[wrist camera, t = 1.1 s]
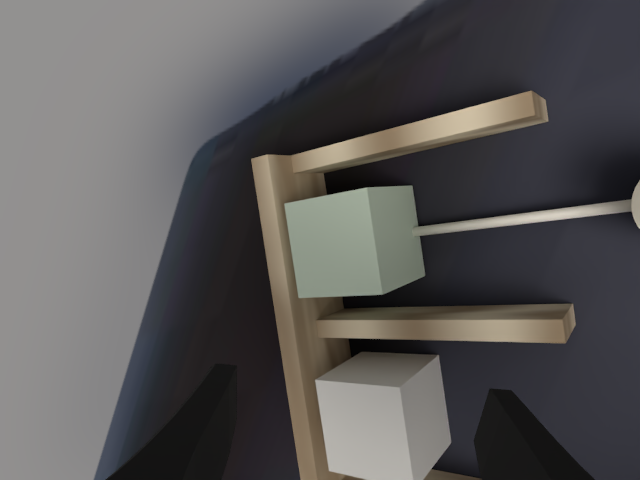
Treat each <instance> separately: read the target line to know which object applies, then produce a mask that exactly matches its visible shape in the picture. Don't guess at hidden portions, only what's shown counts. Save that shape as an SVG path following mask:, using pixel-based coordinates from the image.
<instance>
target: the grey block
mask: <svg viewBox="0 0 640 480" xmlns="http://www.w3.org/2000/svg"><path fill="white" fill-rule="evenodd" d="M315 383H316V389H317V396H318V402H319V409H320V415H321V422H322V428H323V435H324V442H325V448H326V455H327V461H328V468H329V471H331V472H335V473H340V474H344V475H349V476H353V477H357V478H362V479H366V480H423V479H424V478H425V477H426V475H427V474H428V473H429V471H430V470H431V469H432V467H433V466H434V465H435V463H436V462H437V461H438V460H439V458H440V457H441V456H442V454H443V453H444V452H445V450H446V449H447V448H448V446H449V445H450V444H451V437H450V430H449V423H448V416H447V409H446V402H445V395H444V388H443V381H442V374H441V367H440V361H439V355H427V354H403V353H380V352H360V353H359V354H357V355H355V356H354V357H352V358H350V359H349V360H347V361H345V362H344V363H342V364H341V365H339V366H337V367H336V368H334V369H332V370H331V371H329V372H327V373H326V374H324V375H322V376H321V377H319V378H317V379H316V380H315Z"/></svg>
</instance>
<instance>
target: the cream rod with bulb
mask: <svg viewBox="0 0 640 480" xmlns="http://www.w3.org/2000/svg"><path fill="white" fill-rule="evenodd" d="M284 206H285V212H286V219H287V225H288V232H289V238H290V245H291V252H292V258H293V265H294V271H295V278H296V284H297V291H298V297H299V298H312V297H338V296H364V295H383V294H385V293H388V292H390V291H392V290H395V289H397V288H399V287H401V286H404V285H406V284H408V283H410V282H413V281H415V280H417V279H420V278H422V277H424V276H425V270H424V263H423V256H422V249H421V242H420V236H424V235H432V234H441V233H450V232H458V231H467V230H475V229H484V228H493V227H501V226H510V225H519V224H527V223H536V222H544V221H553V220H562V219H570V218H579V217H588V216H596V215H605V214H613V213H622V212H631V211H632V214H633V218H634V220H635V222H636V224H637V226H638V227H639V229H640V181H639V182H638V184H637V186H636V187H635V190H634V192H633V196H632V199H630V200H622V201H614V202H606V203H599V204H591V205H583V206H575V207H567V208H560V209H552V210H544V211H536V212H529V213H521V214H513V215H505V216H497V217H490V218H482V219H474V220H466V221H459V222H451V223H443V224H435V225H428V226H420V227H418V221H417V214H416V207H415V200H414V193H413V186H412V185H411V186H389V187H367V188H362V189H357V190H351V191H346V192H341V193H336V194H331V195H326V196H321V197H316V198H310V199H305V200H300V201H295V202H290V203H285V204H284Z"/></svg>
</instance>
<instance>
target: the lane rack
mask: <svg viewBox="0 0 640 480" xmlns="http://www.w3.org/2000/svg"><path fill="white" fill-rule="evenodd" d="M545 122H548V114H547V107H546V100H545V99H543V98H542V97H540V96H539V95H537V94H536V93H534V92H533V91H528V92H525V93H521V94H517V95H514V96H510V97H506V98H502V99H499V100H495V101H491V102H488V103H484V104H480V105H477V106H473V107H469V108H465V109H462V110H458V111H454V112H451V113H447V114H443V115H440V116H436V117H432V118H428V119H425V120H421V121H417V122H414V123H410V124H406V125H403V126H399V127H395V128H391V129H388V130H384V131H380V132H377V133H373V134H369V135H366V136H362V137H358V138H354V139H351V140H347V141H343V142H340V143H336V144H332V145H329V146H325V147H321V148H317V149H314V150H310V151H306V152H303V153H299V154H295V155H292V156H287V155H264V156H260V157H257V158H253V159H251V161H252V167H253V174H254V180H255V187H256V193H257V200H258V206H259V213H260V219H261V226H262V232H263V239H264V245H265V252H266V258H267V265H268V271H269V277H270V284H271V290H272V297H273V303H274V310H275V316H276V323H277V329H278V336H279V342H280V349H281V355H282V362H283V368H284V374H285V381H286V387H287V394H288V400H289V407H290V413H291V420H292V426H293V433H294V439H295V446H296V452H297V459H298V465H299V471H300V478H301V480H366V479H362V478H357V477H353V476H349V475H344V474H340V473H335V472H331V471H329V468H328V461H327V455H326V448H325V442H324V435H323V428H322V422H321V415H320V409H319V402H318V396H317V389H316V383H315V380H316V379H317V378H319V377H321V376H322V375H324V374H326V373H327V372H329V371H331V370H332V369H334V368H336V367H337V366H339V365H341V364H342V363H344V362H345V361H347V360H349V359H350V358H351V352H350V345H349V339H348V338H362V339H404V340H447V341H490V342H532V343H566V342H567V340H568V338H569V336H570V334H571V333H572V331H573V329H574V327H575V325H576V323H575V315H574V308H573V304H527V305H479V306H431V307H384V308H344V305H343V299H342V296H338V297H312V298H299V297H298V291H297V284H296V278H295V271H294V265H293V258H292V252H291V245H290V238H289V232H288V225H287V219H286V212H285V206H284V204H285V203H290V202H295V201H300V200H305V199H310V198H316V197H321V196H326V195H327V192H326V185H325V179H324V173H327V172H331V171H336V170H340V169H345V168H349V167H353V166H358V165H362V164H366V163H371V162H375V161H379V160H384V159H388V158H392V157H397V156H401V155H406V154H410V153H414V152H419V151H423V150H427V149H432V148H436V147H440V146H445V145H449V144H453V143H458V142H462V141H466V140H471V139H475V138H480V137H484V136H488V135H493V134H497V133H501V132H506V131H510V130H514V129H519V128H523V127H527V126H532V125H536V124H541V123H545ZM423 480H482V479H480V478H475V477H470V476H465V475H460V474H454V473H449V472H444V471H439V470H434V469H431V470H430V471H429V473H428V474H427V475H426V477H425V478H424V479H423Z"/></svg>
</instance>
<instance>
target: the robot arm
mask: <svg viewBox="0 0 640 480" xmlns="http://www.w3.org/2000/svg"><path fill="white" fill-rule="evenodd" d="M236 419H237V366H235V365H224V364H214V365H213V366H212V367H211V368H210V370H209V371H208V372H207V374H206V375H205V377H204V378H203V379H202V381H201V382H200V383H199V385H198V386H197V387H196V388H195V390H194V391H193V392H192V393H191V395H190V396H189V397H188V398H187V399H186V401H185V402H184V403H183V404H182V405H181V406H180V408H179V409H178V410H177V411H176V412H175V413H174V415H173V416H172V417H171V418H170V419H169V420H168V421H167V422H166V423H165V424H164V425H163V427H162V428H161V429H160V430H159V431H158V432H157V433H156V434H155V435H154V436H153V437H152V438H151V439H150V440H149V441H148V442H147V443H146V444H145V445H144V446H143V447H142V448H141V449H140V450H139V451H138V452H137V453H136V454H135V455H133V456H132V457H131V458H130V459H129V460H128V461H127V462H126V463H125V464H123V465H122V466H121V467H120V468H119V469H118V470H117V471H115V472H114V473H113V474H112V475H111V476H109V477H108V478H107V479H106V480H221V479H222V475H223V472H224V469H225V466H226V463H227V460H228V457H229V453H230V448H231V444H232V439H233V434H234V429H235V424H236ZM474 444H475V449H476V455H477V461H478V465H479V470H480V475H481V479H482V480H595V479H594V478H593V477H592V476H591V475H590V474H589V473H588V472H586V471H585V470H584V469H583V468H582V467H581V466H580V465H579V464H578V463H577V462H576V461H575V459H574V458H573V457H572V456H571V455H570V454H569V453H568V452H567V451H566V450H565V449H564V448H563V447H562V446H561V445H560V444H559V443H558V442H557V441H556V439H555V438H554V437H553V436H552V435H551V434H550V433H549V432H548V431H547V430H546V428H545V427H544V426H543V425H542V424H541V423H540V422H539V421H538V420H537V418H536V417H535V416H534V415H533V414H532V413H531V412H530V410H529V409H528V408H527V407H526V406H525V405H524V404H523V403H522V401H521V400H520V399H519V398H518V397H517V396H516V395H515V394H514V393H513V392H512V391H511V390H501V389H490V390H489V393H488V396H487V400H486V403H485V406H484V409H483V412H482V416H481V419H480V422H479V425H478V429H477V432H476V435H475V438H474Z"/></svg>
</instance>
